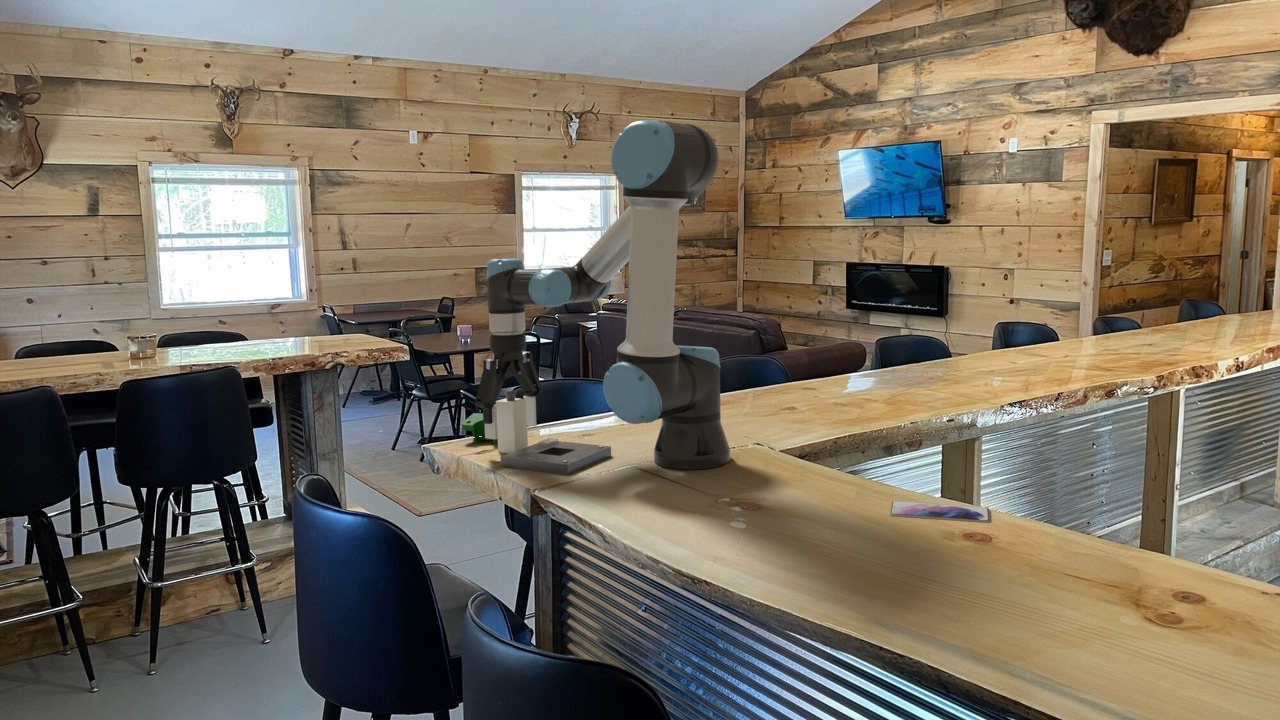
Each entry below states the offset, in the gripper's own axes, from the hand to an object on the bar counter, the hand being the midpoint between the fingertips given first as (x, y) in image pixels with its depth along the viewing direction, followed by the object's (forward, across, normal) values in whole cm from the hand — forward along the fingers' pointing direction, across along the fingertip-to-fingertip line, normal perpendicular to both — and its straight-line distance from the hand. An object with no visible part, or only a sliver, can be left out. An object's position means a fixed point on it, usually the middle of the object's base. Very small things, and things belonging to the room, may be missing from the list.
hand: (511, 432), depth 197 cm
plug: (+4, 0, 0) cm, 4 cm away
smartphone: (+4, +8, +90) cm, 91 cm away
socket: (+4, +4, +14) cm, 15 cm away
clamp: (+4, -5, -10) cm, 12 cm away
